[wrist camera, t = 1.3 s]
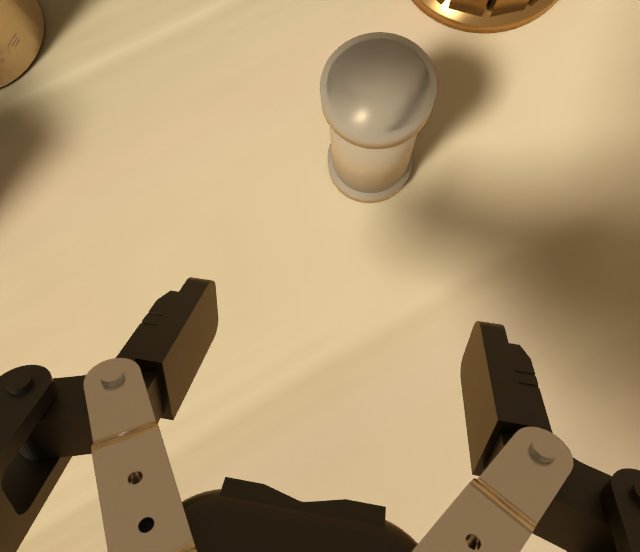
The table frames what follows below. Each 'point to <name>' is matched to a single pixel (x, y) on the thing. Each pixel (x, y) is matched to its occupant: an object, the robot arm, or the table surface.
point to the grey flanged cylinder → (375, 112)
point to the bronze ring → (484, 13)
